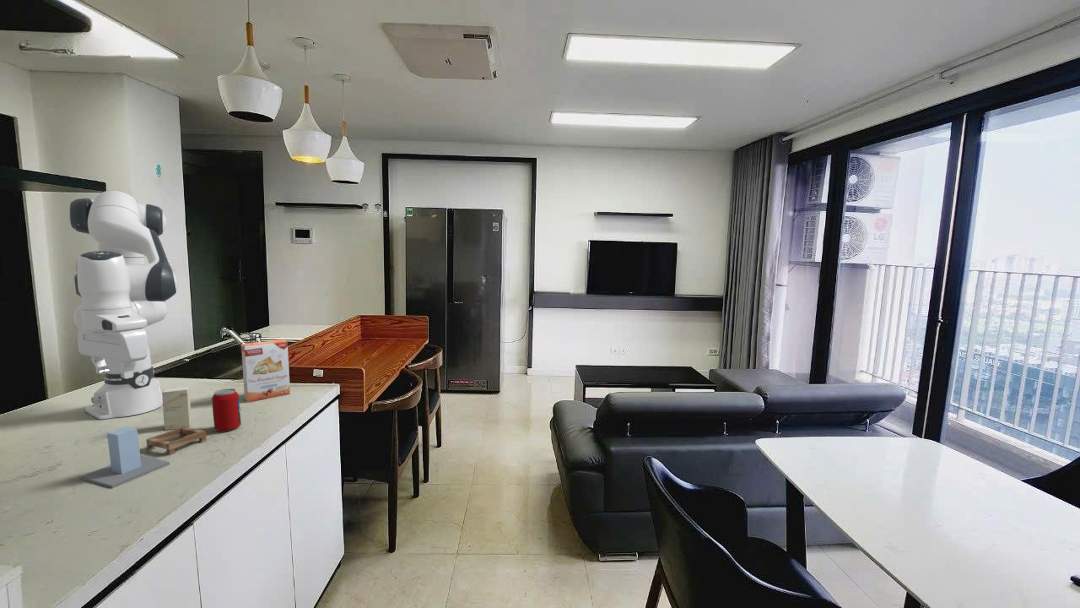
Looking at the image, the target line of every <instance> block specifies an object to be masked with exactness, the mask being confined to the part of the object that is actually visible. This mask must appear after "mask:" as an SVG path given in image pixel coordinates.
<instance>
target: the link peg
mask: <svg viewBox="0 0 1080 608" xmlns="http://www.w3.org/2000/svg"><path fill="white" fill-rule="evenodd" d="M106 436H107V442H108V443H107V445H108V450H109V452H108V453H109V459H110V461H109V462H110V465H111V470H112V471H113V472H117V473H120V474H123V473H126V472H128V471H131V470H133V469H136V468H138V467H141V460H140V455H141V453H140V452H141V451H140V443H139V434H138V428H135V427H130V426H125V427H121V428H118V429H115V430H112V431H108V432H107V433H106Z"/></svg>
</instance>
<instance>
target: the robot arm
mask: <svg viewBox="0 0 1080 608" xmlns="http://www.w3.org/2000/svg"><path fill="white" fill-rule="evenodd" d="M166 217H167V216H166V215H165V213H164V210H163V209H162V208H160V207H159V206H157V205H154V204H150V203H146V204H144V203H139V202H137V200H136V199H135V198H134V197H133V196H132V195H130V194H128V193H126V192H123V191H121V190H106V191H103V192H101V193H99V194H97V196H96V197H95V198H94V199H90V198H77V199H74V200H72V201H70V204H69V206H68V207H67V209H66V218H67V220H68V223H69V224H70V226H71V228H72V229H73V230H75V231H76V232H78V233H83V234H87V235H90V237H92V239H93V240H94V241H96V242H97V243H98V250H95V251H87V252H84V253H81V254H80V255H79V257H78V260H77V270H76V271H77V272H76V274H75V275H74V279H73V280H74V286H75V293H76V295H77V296H79V297H80V298H81V304H79V306H77V307H76V309H75V310H74V312H73V322H74V324H75V326H76V328H78V329H77V348H78V352H79V353H80V355H82V356H86V357H87V356H88V357H90V359H91V363H93V365H94V367H95V372H96V374H97V375H104V382H103V383H104V384H103V385H102V386H101V387H99V389H98V390H96V391H95V392H94V393H93V396H92V397H91V399H90V400H91V403H92V404H93V405H89V406H87V407H85V408H84V412H85V413H87V414H89V415H91V416H93V417H94V418H96V419H98V420H106V419H112V418H120V417H121V418H123V417H129V416H130V417H131V416H135V415H141V414H144V413H148V412H151V411H154V410H157V409H158V408H160V407H162V406H163V398H162V390H161V387H160V382H159V380H158V379H156V378H154V377H155V369H154V366H152V358H151V349H150V346H149V344H148V334H147V331H146V330H145V329H144V328H147V327H149V326H152V325H154V324H157V323H159V322H161V321H162V320H164V319H165V318H166V316H167V314H168V309H167V305H166V301H168V300H170V299H171V298H172V297H173V296H175V295H176V294H177V291H178V287H179V285H178V279H177V276H176V274H175V272H174V270H173V268H172V266H171V264H170V262H169V259H168V258H167V254H166V252H165V249H164V247H163V244H162V242H161V240H160V236H161V235H163V234H164V232H165V230H166V228H167V221H168V220H167V218H166ZM146 259H147V262H148V263H146Z"/></svg>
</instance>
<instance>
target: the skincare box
mask: <svg viewBox="0 0 1080 608" xmlns="http://www.w3.org/2000/svg"><path fill="white" fill-rule="evenodd" d="M161 395H162V398H163V403H162V409H163V422H164V423H163V424H164V425H163V426H164V430H165V431H168V430H169V431H171V430H175V429H178V428H180V427H183V426H184V427H188V428H190V426H191V424H192V412H191V410H192V409H191V408H192V407H191V395H190V386H189V385H186V386H177V387H167V388H163V390H162V391H161Z"/></svg>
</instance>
